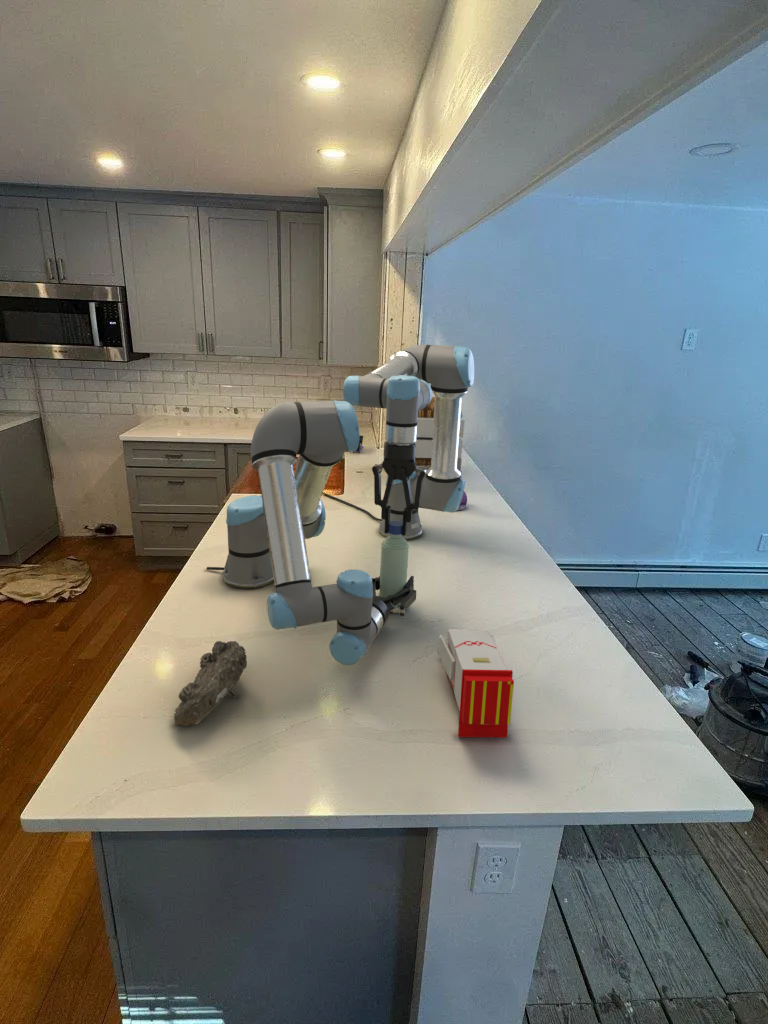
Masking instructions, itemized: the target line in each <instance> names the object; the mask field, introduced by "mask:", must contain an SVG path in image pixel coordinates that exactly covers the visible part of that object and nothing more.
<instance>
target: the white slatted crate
mask: <svg viewBox="0 0 768 1024" xmlns="http://www.w3.org/2000/svg"><path fill="white" fill-rule="evenodd" d="M434 404H435V396H432V399H431V401H430V403H429V404H428V405H427V406H426V407H425V408H424V409H422V410H420V411H418V420H417V438H416V442H414V443H415V444H416V454H415V462H416V464H417V467H431V455H432V438H433V421H434ZM464 429H465V419H464V418H463V411H461V418H460V431H459V444H458V456H457V469H458V470H459V471H462V461H463V460H462V453H463V442H464V441H463V440H462V439H463V438H464V431H465V430H464ZM386 442H387V441H386V440H385V439H384V442H383V454H384V453H385V443H386Z"/></svg>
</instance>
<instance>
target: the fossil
mask: <svg viewBox="0 0 768 1024" xmlns="http://www.w3.org/2000/svg"><path fill="white" fill-rule="evenodd" d="M247 666H248V661H247V652H246V648H244V646H242V645H240V644H239V642H237V641H236V640H229V641H227V642H225V641H221V640H217V641H216V642H214V644H213V646H212V648H211V652H206V653H204V654H203V655H202V656H201V657H200V661H199V667H200V669H199V670H198V673H197V674H196V676H195V678H194V680H193V682H189V683H187V684H186V686H184V687H182V689H181V690H180V692H179V694H178V699H179V700H180V701H181V702H180V703H179V705H178V706H177V707H176V708H175V709H174V712H175V713H173V716H174V717H173V718H174V723H175V725H176V724H177V725H180V726H181V727H187V726H192V725H198V724H200V723H201V721H203V719H204V718H206V717H207V716H209V715H210V713H211V712H212V711H213V710H214V709H215V708H216V707H218V705H220V704H221V703H222V701H223V700H224V697H226V696H227V695H228V694H230V695H231V696H232V697H233V698H235V697H236V694H235V693H234V692H233V691H232V688H233V686H235V685H237V684H238V682H239V681H240V680H241V676H242V674H243V673H244V670H245V669H247Z"/></svg>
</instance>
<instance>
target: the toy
mask: <svg viewBox="0 0 768 1024" xmlns="http://www.w3.org/2000/svg"><path fill="white" fill-rule="evenodd" d="M446 640H447V643H446V641H445V639H444V636H443V635H442V634H439V637H438V646H437V656H438V657H439V659H440V661H441V663H442V666H443V668H444V670H445V672H446V674H447V677H448V679H449V681H450V684H451V687H452V690H453V693H454V697H455V701H456V705H457V708H458V711H459V714H458V715H459V716H458V730H457V731H458V732H457V737H458V738H508V731H509V726H510V725H511V717H512V707H513V697H514V696H513V695H514V684H515V680H514V679H513V673H514V671H513V670H512V669H508V667H507V665H506V662H505V661H504V659H503V658H502V655H501V653H500V651H499V649H498V647H497V643H496V639H495V637H494V635H493V634H491V632H490V631H489V629H467V628H466V629H465V628H463V629H461V628H460V629H459V628H448V630H447V639H446Z"/></svg>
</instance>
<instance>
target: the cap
mask: <svg viewBox="0 0 768 1024" xmlns="http://www.w3.org/2000/svg"><path fill="white" fill-rule="evenodd" d="M402 528H403V522H400V521H391V522H389V525H388V532H389V533H390V534H393V535H400V534H402Z"/></svg>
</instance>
